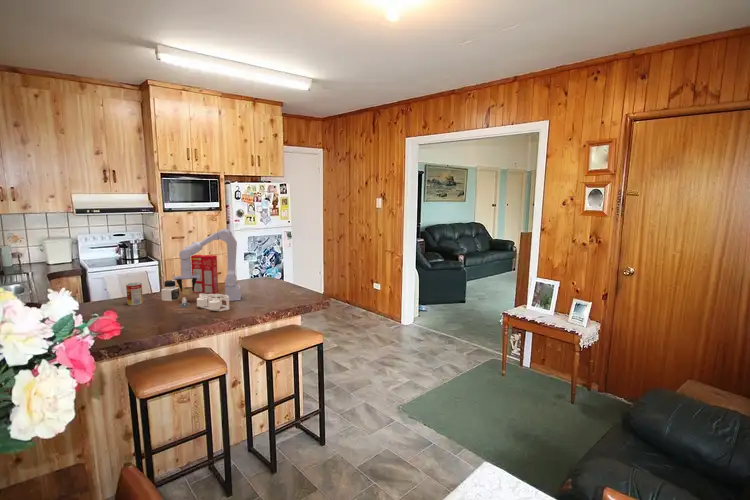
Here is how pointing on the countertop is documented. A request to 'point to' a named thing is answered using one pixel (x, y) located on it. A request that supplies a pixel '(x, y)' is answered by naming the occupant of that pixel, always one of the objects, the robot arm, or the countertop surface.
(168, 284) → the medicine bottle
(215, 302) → the car outline toy
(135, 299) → the canned food
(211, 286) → the food packaging
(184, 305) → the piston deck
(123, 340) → the countertop surface
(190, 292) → the wooden ring
